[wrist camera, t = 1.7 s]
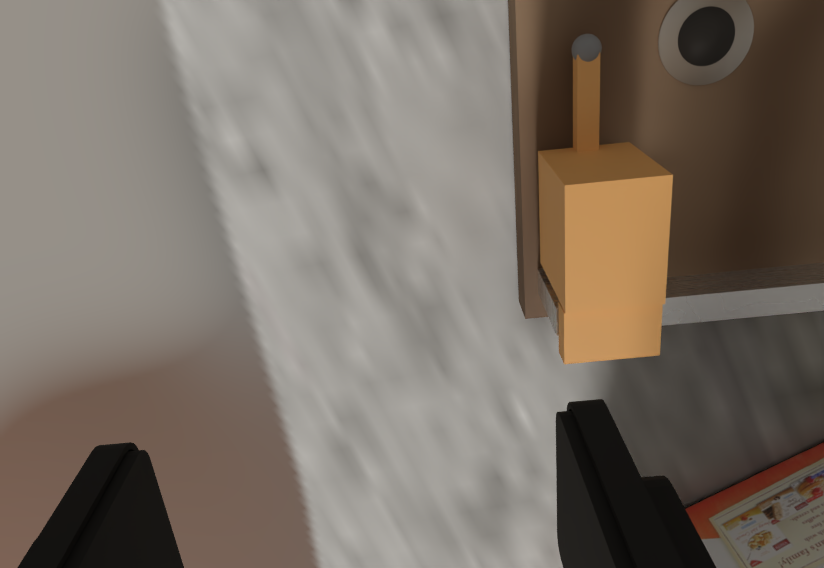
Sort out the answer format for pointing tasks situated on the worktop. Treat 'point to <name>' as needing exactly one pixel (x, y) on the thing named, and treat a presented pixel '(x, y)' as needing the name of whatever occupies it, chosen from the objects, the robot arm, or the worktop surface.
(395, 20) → the worktop surface
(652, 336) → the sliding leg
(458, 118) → the worktop surface
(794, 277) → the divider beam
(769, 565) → the cracker box
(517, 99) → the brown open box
